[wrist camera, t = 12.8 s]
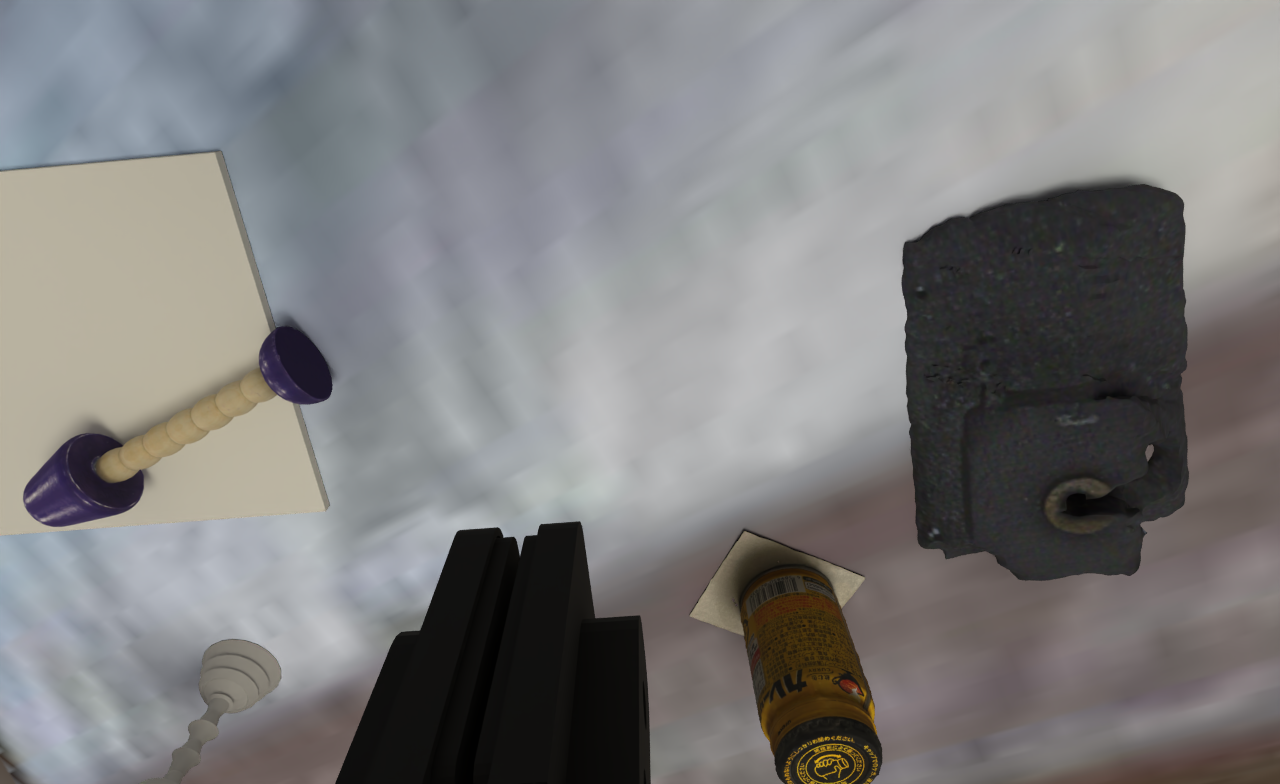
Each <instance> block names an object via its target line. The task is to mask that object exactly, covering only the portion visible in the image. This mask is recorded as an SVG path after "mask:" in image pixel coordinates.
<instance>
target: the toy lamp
mask: <svg viewBox="0 0 1280 784" xmlns="http://www.w3.org/2000/svg"><path fill="white" fill-rule="evenodd" d="M259 366H260V367H259V368H256V369H254V370H252V371H250V372H249V373H248V374H246V375H245V377H244V378H243V379H242V380H238V381H234V382H231V383H229V384H227V385H226V386H224V387H223V388H222V389H221V390H220V391H219V392H218V394H213V395H209V396H207V397H204V398H203V399H201V400H199V401H198V402H197V403H196V404H195V406H194V407H193V408H188V409H185V410H182V411H180V412H178V413H177V414H176V415H174V416H173V417H172V418H171V419H170V420H169V422H164V423H160V424H158V425H156V426H154V427H153V428H151V429H150V430H149V431H148V432H147V433H146V434H145V435H140V436H137V437H134V438H132V439H130V440H129V441H128V442H126V443H125V444H124V445H122V444H121V443H119V442H118V441H116V440H114V439H113V438H111V437H108V436H105V435H102V434H95V433H85V434H80V435H77V436H75V437H73V438H71V439H69V440H68V441H66V442H65V443H64V444H63V445H62V446H61V447H60V448H59V449H58V450H57V451H56V452H55V453H54V454H53V455H52V456H51V457H50V458H49V459H48V461H47V462H46V463H45V464H44V465H43V466H42V467H41V468H40V469H39V470H38V472H37V473H36V474H35V475H34V476H33V477H32V478H31V479H30V481H29V482H28V483H27V485H26V487H25V489H24V492H23V502H24V506H25V508H26V510H27V511H28V513H29V514H30V515H31V516H32V517H33V518H34V519H35V520H37V521H38V522H40V523H42V524H44V525H47V526H51V527H65V526H70V525H75V524H80V523H84V522H88V521H93V520H97V519H102V518H106V517H110V516H114V515H118V514H121V513H124V512H126V511H128V510H130V509H131V508H133V507H134V506H135V505H136V504H137V503H138V502H139V500H140V498H141V496H142V494H143V490H144V475H143V473H142V471H141V469H146V468H149V467H151V466H153V465H155V464H156V463H157V462H159V461H160V460H161V458H162V457H166V456H170V455H173V454H175V453H177V452H178V451H180V450H181V449H182V448H183V447H184V446H185V445H186V444H191V443H194V442H197V441H199V440H201V439H202V438H204V437H205V436H206V435H207V434H208V433H209V432H210V431H211V430H217V429H220V428H222V427H224V426H225V425H227V424H228V423H229V422H230V421H231V420H232V419H233V418H234V417H237V416H241V415H244V414H246V413H248V412H249V411H251V410H252V409H253V408H254V407H255V406H256V405H257V404H258V403H261V402H266V401H268V400H270V399H272V398H274V397H275V396H276V395H278V396H280V397H281V398H283V399H284V400H286V401H289V402H292V403H295V404H307V405H308V404H314V403H319V402H322V401H325V400H326V399H328V398H329V397H330V395H331V392H332V386H333V385H332V378H331V376H330V372H329V369H328V366H327V364H326V362H325V360H324V358H323V356H322V355H321V354H320V352H319V350H318V349H317V348H316V346H314V344H313V343H312V342H311V341H310V340H309V339H308V338H307V337H306V336H305V335H304V334H302V333H301V332H299V331H298V330H296V329H293V328H292V327H287V326H285V327H283V326H282V327H278V328H276V329H275V330H273V331H272V332H271V333H270V334H269V335H268V336H267V337H266V339H265V340H264V342H263V344H262V346H261V348H260V351H259Z"/></svg>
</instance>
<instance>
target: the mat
mask: <svg viewBox="0 0 1280 784" xmlns="http://www.w3.org/2000/svg"><path fill="white" fill-rule="evenodd" d="M275 329H276V328H275V325H274V322H273V318H272V315H271V312H270V308H269V305H268V302H267V299H266V295H265V292H264V289H263V286H262V282H261V279H260V276H259V272H258V269H257V266H256V263H255V259H254V256H253V253H252V250H251V246H250V243H249V240H248V236H247V233H246V230H245V227H244V223H243V220H242V217H241V214H240V210H239V207H238V204H237V200H236V197H235V194H234V191H233V187H232V184H231V181H230V178H229V174H228V171H227V168H226V165H225V161H224V158H223V155H222V151H216V152H204V153H193V154H182V155H171V156H160V157H149V158H138V159H127V160H115V161H104V162H93V163H82V164H71V165H60V166H49V167H37V168H26V169H15V170H4V171H0V535H14V534H27V533H41V532H54V531H67V530H81V529H94V528H108V527H121V526H135V525H148V524H162V523H175V522H188V521H202V520H215V519H229V518H242V517H256V516H269V515H282V514H296V513H309V512H323V511H326V510H327V509H328V507H329V506H330V505H329V501H328V498H327V495H326V492H325V488H324V485H323V482H322V479H321V475H320V472H319V469H318V465H317V462H316V459H315V456H314V452H313V449H312V446H311V443H310V439H309V436H308V433H307V429H306V426H305V423H304V420H303V416H302V413H301V410H300V407H299V404H295V403H292V402H289V401H286V400H284V399H283V398H281V397H280V396H278V395H276V396H275V397H274V398H272V399H270V400H268V401H266V402H261V403H258V404H257V405H256V406H255V407H254V408H253V409H252V410H251V411H249V412H248V413H246V414H244V415H241V416H237V417H234V418H233V419H232V420H231V421H230V422H229V423H228V424H227V425H225V426H224V427H222V428H220V429H217V430H211V431H210V432H209V433H208V434H207V435H206V436H205V437H204V438H202V439H201V440H199V441H197V442H194V443H191V444H186V445H185V446H184V447H183V448H182V449H181V450H180V451H178V452H177V453H175V454H173V455H170V456H166V457H162V458H161V460H160V461H159V462H157V463H156V464H155V465H153V466H151V467H149V468H146V469H141V471H142V473H143V475H144V490H143V494H142V496H141V498H140V500H139V502H138V503H137V504H136V505H135V506H134V507H133V508H131V509H130V510H128V511H126V512H124V513H121V514H118V515H114V516H110V517H106V518H102V519H97V520H93V521H88V522H84V523H80V524H75V525H70V526H65V527H51V526H47V525H44V524H42V523H40V522H38V521H37V520H35V519H34V518H33V517H32V516H31V515H30V514H29V513H28V511H27V510H26V508H25V506H24V502H23V492H24V489H25V487H26V485H27V483H28V482H29V481H30V479H31V478H32V477H33V476H34V475H35V474H36V473H37V472H38V470H39V469H40V468H41V467H42V466H43V465H44V464H45V463H46V462H47V461H48V459H49V458H50V457H51V456H52V455H53V454H54V453H55V452H56V451H57V450H58V449H59V448H60V447H61V446H62V445H63V444H64V443H65V442H66V441H68V440H69V439H71V438H73V437H75V436H77V435H80V434H85V433H95V434H102V435H105V436H108V437H111V438H113V439H114V440H116V441H118V442H119V443H121V444H122V445H124V444H125V443H126V442H128V441H129V440H130V439H132V438H134V437H137V436H140V435H145V434H146V433H147V432H148V431H149V430H150V429H151V428H153V427H154V426H156V425H158V424H160V423H164V422H169V420H170V419H171V418H172V417H173V416H174V415H176V414H177V413H178V412H180V411H182V410H185V409H188V408H193V407H194V406H195V404H196V403H197V402H198V401H199V400H201V399H203V398H204V397H207V396H209V395H213V394H218V392H219V391H220V390H221V389H222V388H223V387H224V386H226V385H227V384H229V383H231V382H234V381H238V380H242V379H243V378H244V377H245V375H246V374H248V373H249V372H250V371H252V370H254V369H256V368H259V367H260V366H259V351H260V348H261V346H262V344H263V342H264V340H265V339H266V337H267V336H268V335H269V334H270V333H271V332H272V331H273V330H275Z"/></svg>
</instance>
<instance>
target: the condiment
mask: <svg viewBox="0 0 1280 784" xmlns="http://www.w3.org/2000/svg"><path fill="white" fill-rule="evenodd" d="M778 561H779V562H778ZM864 579H865V577H862V576H860V575H857V574H855V573H853V572H850V571H848V570H845V569H843V568H841V567H838V566H834V565H832V564H830V563H828V562H826V561H823V560H821V559H817V558H815V557H813V556H809V555H806V554H804V553H801V552H797V551H794V550H792V549H790V548H788V547H786V546H783V545H780V544H778V543H776V542H773V541H770V540H767V539H764V538H760V537H758V536H756V535H754V534H751V533H748V532H746V531H744V533H743V534H742V535H741V537H740V538H739V540H738V541H737V542H736V543H735V545H734V547H733V548H732V550H731V551H730V553H729V554H728V556H727V558H726V559H725V560H724V562H723V563H722V565H721V566H720V568H719V569H718V571H717V573H716V574H715V576H714V577H713V579H712V580H711V581H710V584H709V585H708V587H707V589H706V591H705V592H704V594H703V595H702V596H701V598H700V599H699V601H698V603H697V605H696V606H695V608H694V610H693V611H692V613H691V614H690V616H691V617H693V618H696V619H698V620H701V621H703V622H707V623H710V624H713V625H714V626H716V627H720V628H724V629H726V630H729V631H731V632H733V633H737V634H740V635H743V636H744V639H745V642H746V649H747V655H748V658H749V665H750V670H751V675H752V680H753V688H754V693H755V697H756V703H757V708H758V715H759V720H760V723H761V728H762V730H763V732H764V734H765V736H766V738H767V739H768V740H769V741H770V747H771V751H772V753H773V755H774V757H775V766H776V772H777V775H778V777H779V779H780V780H781V781H782V782H783V783H784V784H870V783H871V782H872V781H873V780H874V779H875V777H876V776H877V775H879V771H880V767H881V765H882V747H881V743H880V741H879V739H878V736H877V731H876V726H875V724H874V716H875V706H874V702H873V699H872V695H871V691H870V687H869V685H868V681H867V679H866V677H865V676H864V673H863V669H862V666H861V664H860V659H859V656H858V654H857V652H856V650H855V647H854V643H853V641H852V638H851V636H850V632H849V630H848V627H847V624H846V620H845V618H844V616H843V613H842V607H843V606H844V605H845V604H846V602H847V601H848V600H849V599H850V598H851V597H852V596H853V594H854V593H855V591H856V590H857V589H858V588H859V586H860V585H861V583H862V582H863V581H864ZM732 598H734V600H735V602H733V601H732ZM736 603H737V604H738V606H737V607H736V606H735V604H736Z"/></svg>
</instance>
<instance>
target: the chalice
mask: <svg viewBox="0 0 1280 784" xmlns="http://www.w3.org/2000/svg"><path fill="white" fill-rule="evenodd" d="M202 665H203V666H202V669H201V672H200V675H201V678H200V681H199V691H200V694H201V696H202V698H203V700H204V702H205V703H206V704H207V705H208V709H207V712H206V713H205V714H204V715H203V716H202V717H201V718H200V719H199V720H195V721H193V722H191V723H190V724H189V726H188V731H189V733H190V736H189V739H188V741H187V742H186V743H185V744H184V745H183V746H182V747H180V748H178V749H176V750H174V751H173V753H172V760H173V761H172V763H171V766H170V768H169V771H168V773H167V774H166V775H165V776H164V777H163V778H151V779H147V780H145V781H143V782H141V783H139V784H180V783H181V780H182V778H183V777H184V776H185V775H186V773H187V772H188V771H189V770H190V769H191V768H192V767H194V766H196V765H198V764H199V763H200V761H201V757H200V752H201V748H202V746H203V745H204V744H205V743H206V742H207V741H210V740H213V739H215V738H216V737H217V736H218V734H219V732H218V728H217V724H218V721H219V718H220V717H221V716H222V715H223V714H224V713H237V712H240V711H243V710H246V709H248V708H250V707H252V706H253V705H254V704H255V703H256V702H257V701H259V700H261V699H262V698H263V697H264V696H265V695H266V694H268V693H270V692H272V691H273V690H274V689H275V688H276V687H277V686H278V684H279V682H280V679H281V669H280V666H279V664H278V662H277V660H276V659H275V658H274V657H273V656H272V655H271V654H270V653H269V652H268V651H267V650H265V649H264V648H262V647H260V646H259V645H257V644H254V643H251V642H248V641H243V640H234V639H232V640H225V641H220V642H218V643H216V644H214V645H211V646H210V647H209V648H208V649H207V651H206V652H205V653H204V656H203V659H202Z"/></svg>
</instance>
